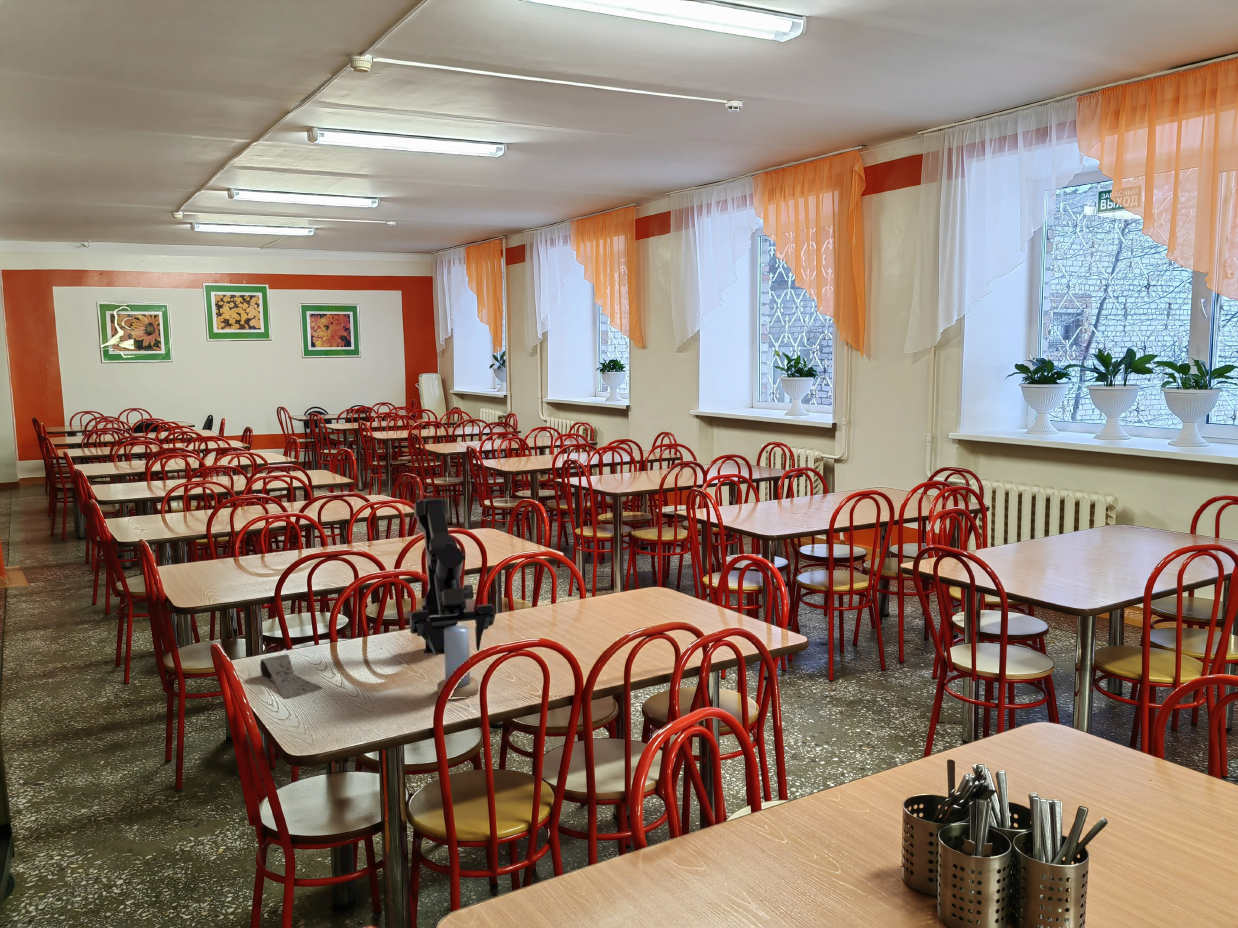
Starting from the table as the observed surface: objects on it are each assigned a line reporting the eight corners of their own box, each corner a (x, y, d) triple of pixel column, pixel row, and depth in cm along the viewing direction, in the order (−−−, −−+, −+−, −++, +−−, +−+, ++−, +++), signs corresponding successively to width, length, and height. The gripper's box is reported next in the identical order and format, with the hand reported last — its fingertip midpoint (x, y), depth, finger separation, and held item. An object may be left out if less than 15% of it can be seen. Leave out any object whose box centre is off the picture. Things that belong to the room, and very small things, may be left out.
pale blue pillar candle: (446, 688, 206) (444, 633, 204) (444, 680, 211) (443, 626, 209) (470, 686, 207) (469, 631, 205) (469, 678, 212) (467, 624, 211)
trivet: (432, 699, 205) (432, 690, 205) (443, 684, 214) (442, 676, 213) (473, 699, 204) (473, 690, 204) (482, 685, 213) (482, 676, 213)
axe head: (330, 683, 210) (286, 694, 204) (329, 704, 212) (285, 715, 205) (295, 648, 226) (253, 657, 219) (295, 667, 227) (253, 677, 220)
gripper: (409, 576, 207) (416, 638, 198) (493, 569, 213) (503, 630, 203) (407, 602, 215) (413, 663, 206) (487, 594, 221) (497, 654, 212)
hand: (457, 652), depth 207 cm, fingers open, 9 cm apart
